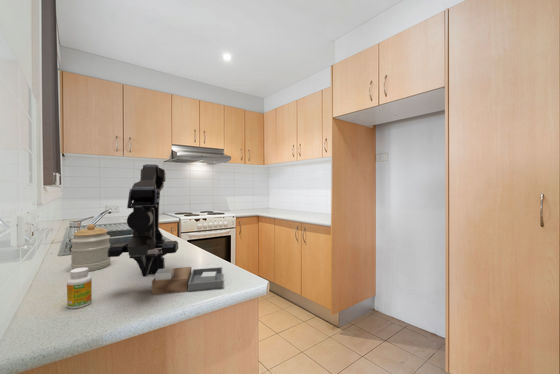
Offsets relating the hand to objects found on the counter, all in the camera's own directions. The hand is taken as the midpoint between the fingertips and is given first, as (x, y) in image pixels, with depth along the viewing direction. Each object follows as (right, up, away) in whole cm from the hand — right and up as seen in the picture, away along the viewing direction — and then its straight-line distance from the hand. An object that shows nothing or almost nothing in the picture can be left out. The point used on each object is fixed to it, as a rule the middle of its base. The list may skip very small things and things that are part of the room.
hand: (145, 276), depth 80 cm
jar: (-35, -5, +25) cm, 43 cm away
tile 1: (+17, -2, +8) cm, 19 cm away
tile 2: (+5, -1, +1) cm, 6 cm away
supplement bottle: (-14, -5, -8) cm, 17 cm away
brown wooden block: (+7, -5, +5) cm, 9 cm away
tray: (+17, -5, +7) cm, 19 cm away
